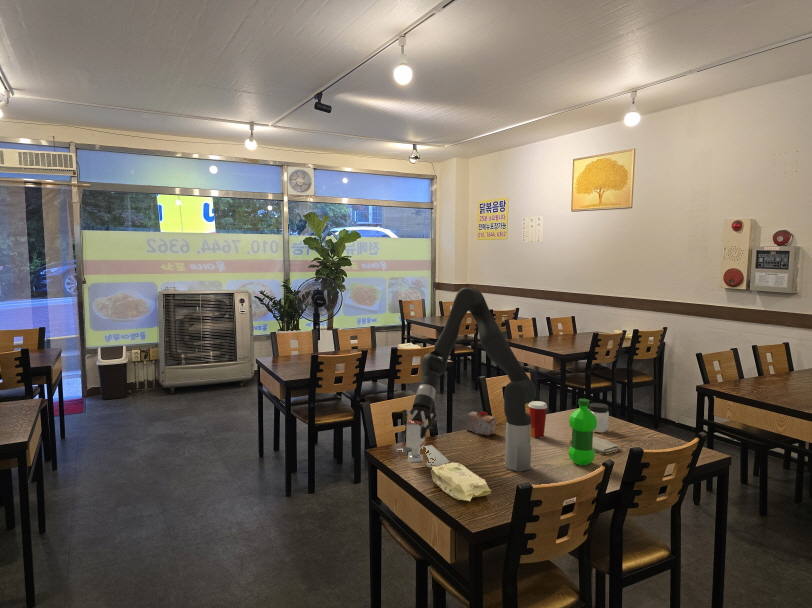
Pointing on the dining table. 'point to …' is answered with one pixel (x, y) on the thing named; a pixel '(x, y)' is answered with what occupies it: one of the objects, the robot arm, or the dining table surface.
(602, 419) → the jar
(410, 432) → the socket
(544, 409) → the coffee cup
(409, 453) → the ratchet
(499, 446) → the dining table surface
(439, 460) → the mat
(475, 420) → the food item
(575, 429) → the plastic bottle
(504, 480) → the dining table surface
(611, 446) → the washcloth
